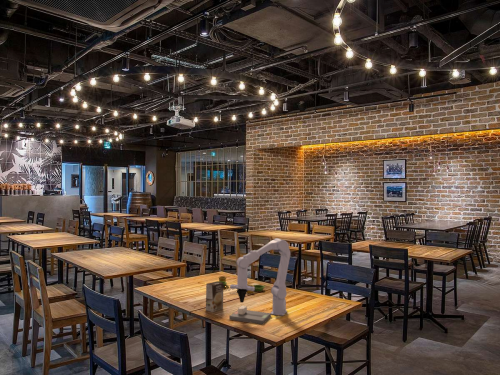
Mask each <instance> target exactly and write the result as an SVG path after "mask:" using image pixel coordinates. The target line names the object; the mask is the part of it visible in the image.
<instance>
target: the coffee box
mask: <svg viewBox="0 0 500 375" xmlns="http://www.w3.org/2000/svg"><path fill="white" fill-rule="evenodd" d="M205 284H206V285H205V288H206V289H205V311H208V312H211V313H214V312H217V311H221V310H224V292H223V291H224V289H223V287H224V283H222V282H216V281H212V282H209V283H205Z"/></svg>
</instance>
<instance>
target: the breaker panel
mask: <svg viewBox="0 0 500 375" xmlns="http://www.w3.org/2000/svg"><path fill="white" fill-rule="evenodd" d="M270 318H272V314H271V312H265V311H264V312H262V311H257V310H249V309H247V312H246V313H245V314H243V315H241V314H238V309H237V310H236V311H234V312H233V313H232V314H230V315H229V320H231V321H237V322H238V321H239V322H244V323H245V322H246V323H250V324H251V323H252V324H259V325H264V324H265V323H266V322H267V321H268V320H269V319H270Z"/></svg>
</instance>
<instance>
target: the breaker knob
mask: <svg viewBox="0 0 500 375" xmlns="http://www.w3.org/2000/svg"><path fill="white" fill-rule="evenodd" d="M237 310H238V314H241V315H243V314H245V313H246V312H247V310H248V306H246V305H241V306H239V307H238V308H237Z"/></svg>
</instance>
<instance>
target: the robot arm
mask: <svg viewBox="0 0 500 375" xmlns="http://www.w3.org/2000/svg"><path fill="white" fill-rule="evenodd" d="M271 250H272V251H278V253H279V254H280V259H279V264H278V269H277V273H276V274H277V276H276V279H275V282H273V285H272V287H271V290H270V293H271V294H272V311H271V312H270V313H271V315H275V316H282V317H283V316H285V314H286V313H287V312H288V310H287V304H286V303H287V300H286V298H287V297H286V296H287V295H288V294H287V286H286V281H287V274H288V269H289V264H290V258H291V250H290V244H289V243H288V241H286V239H281V238H278V237H276V238H274V239H272V240H270V241H269V242H267V243H266V244H265V245H263V246H261V247H260V248H259V249H257V250H256V249H255V250H250V251H249V252H248V253H247V254H243V256H240V257H238V258H237V259H236V262H235V263H236V266H237V283H236V284H230V285H229V289H232V288H233V289H232V290H236V291H237V293H236V294H238V295H239V296H238V295H237V296H238V298H239V302H240V303H242V304H243V303H244V302H245V298H246V296H247V294H248V293H247V291H248V290H251V291H253V292H255V291H254V290H255V287H251V286H247V284H248V267H249V266H250V265H251V264H253V263H255V261H257V260H259V259H260V256H262V255H263V254H266V253H268V252H269V251H271ZM246 293H247V294H246Z"/></svg>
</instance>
